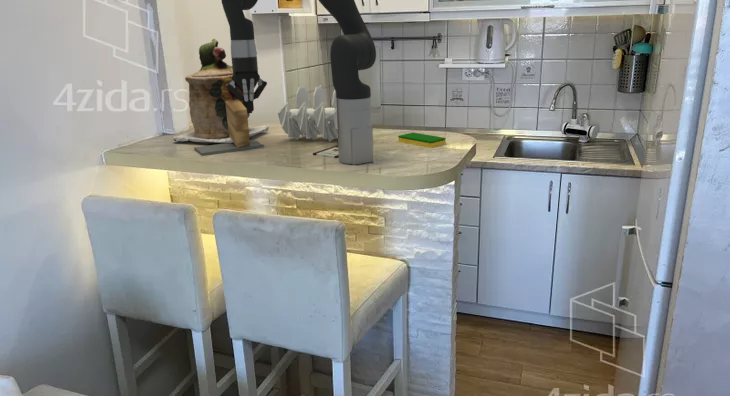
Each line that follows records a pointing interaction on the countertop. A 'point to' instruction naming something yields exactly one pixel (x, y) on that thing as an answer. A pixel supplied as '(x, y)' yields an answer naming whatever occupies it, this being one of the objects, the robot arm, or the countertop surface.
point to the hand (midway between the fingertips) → (248, 112)
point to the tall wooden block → (237, 122)
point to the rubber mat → (226, 148)
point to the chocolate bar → (328, 152)
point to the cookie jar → (211, 98)
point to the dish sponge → (422, 140)
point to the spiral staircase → (310, 116)
